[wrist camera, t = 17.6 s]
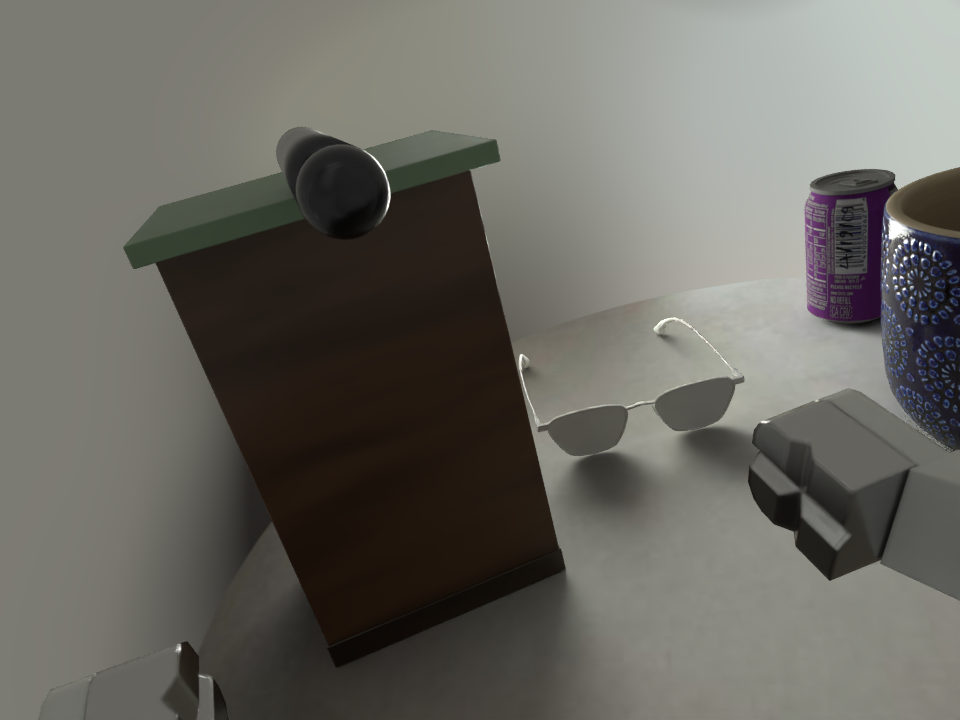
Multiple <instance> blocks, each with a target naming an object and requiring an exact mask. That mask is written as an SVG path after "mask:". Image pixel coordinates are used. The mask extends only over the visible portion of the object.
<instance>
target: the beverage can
mask: <svg viewBox="0 0 960 720" xmlns="http://www.w3.org/2000/svg"><path fill="white" fill-rule="evenodd" d="M894 181H895V174H894V173H893V172H890V171H886V170H878V169H864V170H863V169H862V170H851V171H844V172H838V173H834V174H830V175H826V176H823V177H820V178H818V179H816V180H814V181H812V182H811V184H810V190H811V193H810V195H809V198H808V199H807V201H806V204H805V243H806V278H807V308H808V310H809V311H810V312H811V313H812V314H813V315H815V316H817V317H820V318H823V319H826V320H828V321H831V322H835V323H842V324H857V323H865V322H869V321H873V320H875V319H877V318H879V317H881V284H880V276H881V242H882V223H883V213H884V206H885V203H886V202H887V200H888V199H889V198H890V197H891V196H892V195H893V194H894V193H895V192H896V191H898V189H897V187H896V186H895V184H894Z"/></svg>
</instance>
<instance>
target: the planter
mask: <svg viewBox="0 0 960 720" xmlns="http://www.w3.org/2000/svg"><path fill="white" fill-rule="evenodd" d="M880 284H881V332H882V346H883V354H884V363H885V371H886V374H887V378H888V381H889V384H890V388H891V390H892V392H893V394H894V396H895V397H896V399H897V400H898V402H899V403H900V405H901V406H902V408H903V409H904V411H905V412H906V413H907V414H908V415H909V416H910V417H911V418H912V419H913V420H914V421H915V423H916V424H917V425H919V426H920V427H921V428H922V429H923V430H925V431H926V432H927V433H929V434H930V435H931V436H933V437H934V438H935V439H937V440H938V441H940V442H941V443H943V444H945V445H947V446H948V447H950V448H952V449H954V450H960V167H959V168H954V169H951V170H947V171H943V172H940V173H936V174H933V175H930V176H927V177H925V178H922V179H919V180H917V181H915V182H912V183H910V184H908V185H906V186H904V187H903V188H901V189H899V190H898V191H896V192H895V193H894V194H893V195H892V196H891V197H890V198H889V199H888V200H887V202H886V203H885V206H884V213H883V223H882V242H881V276H880Z"/></svg>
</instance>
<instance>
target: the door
mask: <svg viewBox="0 0 960 720" xmlns="http://www.w3.org/2000/svg"><path fill="white" fill-rule="evenodd" d="M276 156H277V161H278V164H279V166H280V168H281V170H282V172H281V173H277V174H274V175H270V176H267V177H263V178H259V179H256V180H252V181H249V182H245V183H241V184H238V185H234V186H231V187H227V188H224V189H220V190H217V191H213V192H209V193H206V194H202V195H199V196H195V197H191V198H188V199H184V200H181V201H177V202H173V203H170V204H167V205H163V206H160V207H158V208H157V210H156V211H155V212H154V213H153V214H152V215H151V216H150V217H149V219H148V220H147V221H146V222H145V223H144V224H143V225H142V227H141V228H140V229H139V230H138V231H137V232H136V233H135V234H134V236H133V237H132V238H131V239H130V240H129V241H128V242H127V243H126V245H125V246H124V247H123V248H124V250H125V253H126V255H127V257H128V259H129V261H130V263H131V266H132V267H133V269H137V268H140V267H143V266H147V265H150V264H153V263H157V262H160V261H164V260H167V259H171V258H174V257H177V256H181V255H184V254H188V253H191V252H194V251H198V250H201V249H204V248H208V247H211V246H215V245H218V244H221V243H225V242H228V241H232V240H235V239H238V238H242V237H245V236H249V235H252V234H255V233H259V232H262V231H266V230H269V229H272V228H276V227H279V226H282V225H286V224H289V223H293V222H296V221H299V220H303V219H306V221H307V222H308V223H309V224H310V225H311V226H312V227H313V228H314V229H315V230H317V231H318V232H320V233H322V234H323V235H326V236H328V237H331V238H334V239H339V240H351V239H356V238H360V237H362V236H365V235H367V234H368V233H370V232H371V231H373V230H374V229H375V228H376V227H377V226H378V225H379V224H380V223H381V221H382V220H383V218H384V217H385V215H386V213H387V210H388V207H389V202H390V194H391V193H394V192H398V191H401V190H405V189H408V188H411V187H415V186H418V185H422V184H425V183H428V182H432V181H435V180H439V179H442V178H445V177H449V176H452V175H455V174H459V173H462V172H466V171H469V170H472V169H476V168H479V167H483V166H486V165H489V164H493V163H496V162H499V161H500V155H499V150H498V145H497V141H496V140H495V139H488V138H481V137H474V136H467V135H461V134H454V133H447V132H440V131H433V130H431V131H428V132H424V133H421V134H417V135H413V136H410V137H406V138H403V139H399V140H395V141H392V142H388V143H385V144H381V145H378V146H374V147H370V148H367V149H363V150H362V149H360V148H358V147H356V146H353V145H351V144H348V143H346V142H343V141H341V140H338V139H336V138H333V137H331V136H329V135H326V134H324V133H321V132H319V131H316V130H314V129H311V128H307V127H297V128H293V129H291V130H288V131H287V132H286V133H285V134H284V135H283V136H282V137H281V138H280V140H279V142H278V145H277V149H276Z"/></svg>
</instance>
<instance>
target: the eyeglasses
mask: <svg viewBox="0 0 960 720" xmlns="http://www.w3.org/2000/svg"><path fill="white" fill-rule="evenodd" d="M671 321H678V322H681V323H683V324H685V325H687V326H688V327H689V328H691V329H692V330H694V331H695V332H696V333H697V334H698V335H700V336H701V337H702V338H703V339H704V340H705V341H706V342H707V343H708V344H709V345H710V346H711V347H712V348H713V349H714V350H715V351H716V352H717V354H718V355H719V356H720V357H721V358H722V359H723V361H724V362H725V363H726V364H727V365H728V366H729V368H730V369H731V370H732V373H733V375H734V376H735V377H732V378H729V377H725V376H723V377H714V378H709V379H704V380H700V381H696V382H692V383H689V384H685V385H682V386H679V387H676V388H673V389H670V390H668V391H665V392H663V393H662V394H660V395H659V396H658V397H657V398H656V400H653V401H642V402H638V403H635V404H633V405H630V406H628V407H624V406H622V405H620V404H609V405H601V406H595V407H590V408H586V409H581V410H577V411H573V412H569V413H566V414H563V415H560V416H558V417H555V418H553V419H552V420H551V421H550V422H548V423H543V424H540V422H539V419H538V417H536V414H535V412H534V409H533V407H532V404H531V402H530V399H529V397H528V394H527V391H526V387H525V384H524V380H523V376H522V366H521V363H522V365H523V367H525V368H527V367H528V365H529V359H528V358H527V357H526V356H524V355H523V354H522V355H520V356H519V371H520V374H521V378H522V382H523V386H524V389H525V393H526V396H527V399H528V401H529V404H530V406H531V409H532V411H533V414H534V416H535V417H534V419H535V423H536V426H537V430H538V432H541V431H546V430H548V433H549V435H550V436H551V438H552V439H553V440H554V441H555V442H556V444H557V445H558V446H559V447H560V448H561V449H562V450H564V451H565V452H566V453H568V454H569V455H573V456H585V455H591V454H596V453H599V452H602V451H605V450H608V449H610V448H612V447H614V446H615V445H617V443H618V442H619V440H620V439H621V437H622V435H623V433H624V430H625V427H626V424H627V419H628V412H627V410H629V409H632V408H635V407H638V406H641V405H647V404H653V409H654V411H655V413H656V414H657V415H658V416H660V418H661V419H662V420H663V422H664V423H665V424H667V425H668V426H669V427H670V428H671V429H673V430H675V431H688V430H694V429H699V428H703V427H706V426H708V425H711V424H713V423H715V422H717V421H718V420H720V419H721V418H722V417H723V415H724V414H725V412H726V410H727V408H728V406H729V404H730V402H731V399H732V397H733V394H734V391H735V384H739V383H743V382H744V376H743V375H742V374H741V373H740V372H739V371H738V370H737V369H736V368H735V369H733V368H732V367H731V366H730V365H729V364H728V363H727V361H726V360H725V359H724V358H723V357H722V356H721V355H720V353H719V352H718V351H717V350H716V349H715V348H714V347H713V346H712V345H711V344H710V343H709V342H708V341H707V340H706V339H705V338H704V337H703V336H702V335H701V334H700V333H699V332H697V331H696V330H695V329H694V327H692V326H691V325H690V324H688V323H687V322H685V321H684V320H681V319H678V318H668V319H665V320H663V321H661V322H660V323H659V324H658V325H657V326H655V328H654V331H655V332H657V333H658V334H661V335H662V334H663V333H664V331H665V327H666V325H667V324H668V323H669V322H671Z"/></svg>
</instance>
